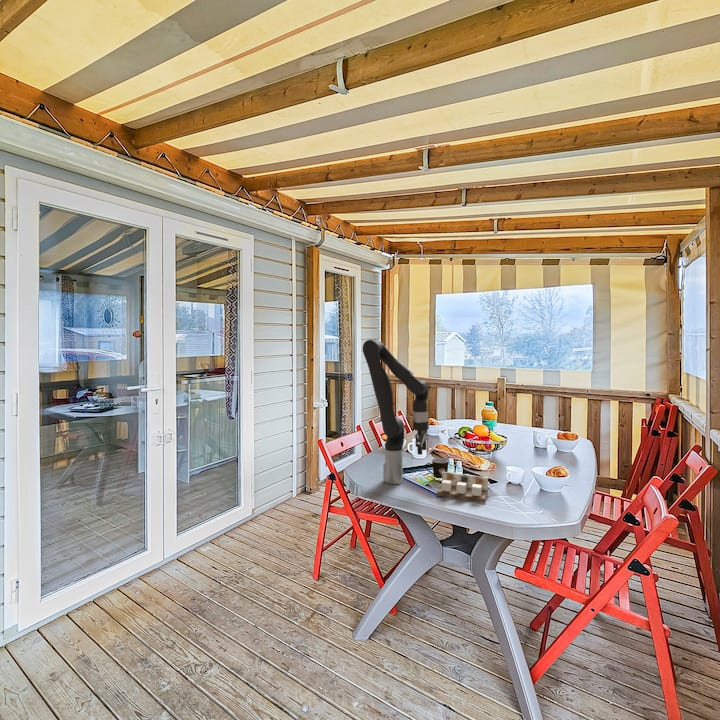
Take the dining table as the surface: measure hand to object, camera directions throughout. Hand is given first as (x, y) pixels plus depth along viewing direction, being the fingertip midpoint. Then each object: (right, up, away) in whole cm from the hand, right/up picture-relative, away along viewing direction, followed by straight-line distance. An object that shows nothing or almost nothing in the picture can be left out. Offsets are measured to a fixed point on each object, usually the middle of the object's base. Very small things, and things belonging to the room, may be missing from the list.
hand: (422, 452), depth 208 cm
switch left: (+10, -16, -10) cm, 21 cm away
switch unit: (+18, -18, -10) cm, 27 cm away
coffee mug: (+10, -17, +12) cm, 23 cm away
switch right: (+23, -16, -16) cm, 32 cm away
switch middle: (+17, -16, -13) cm, 26 cm away
